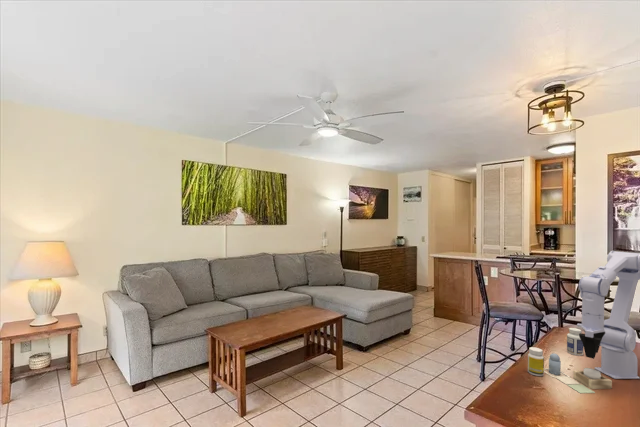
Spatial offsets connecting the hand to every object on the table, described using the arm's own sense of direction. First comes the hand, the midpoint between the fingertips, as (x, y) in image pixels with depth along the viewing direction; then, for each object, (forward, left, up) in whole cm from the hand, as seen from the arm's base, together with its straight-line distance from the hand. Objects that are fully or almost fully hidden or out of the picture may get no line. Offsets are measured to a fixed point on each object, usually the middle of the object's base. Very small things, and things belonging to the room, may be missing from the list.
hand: (591, 354), depth 111 cm
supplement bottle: (+14, -7, -10) cm, 19 cm away
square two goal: (+7, +4, -10) cm, 12 cm away
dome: (0, 0, -8) cm, 8 cm away
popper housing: (0, 0, -10) cm, 10 cm away
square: (+7, -2, -10) cm, 12 cm away
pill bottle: (-16, -24, -10) cm, 31 cm away
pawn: (+7, -7, -10) cm, 14 cm away
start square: (+7, -7, -10) cm, 14 cm away
